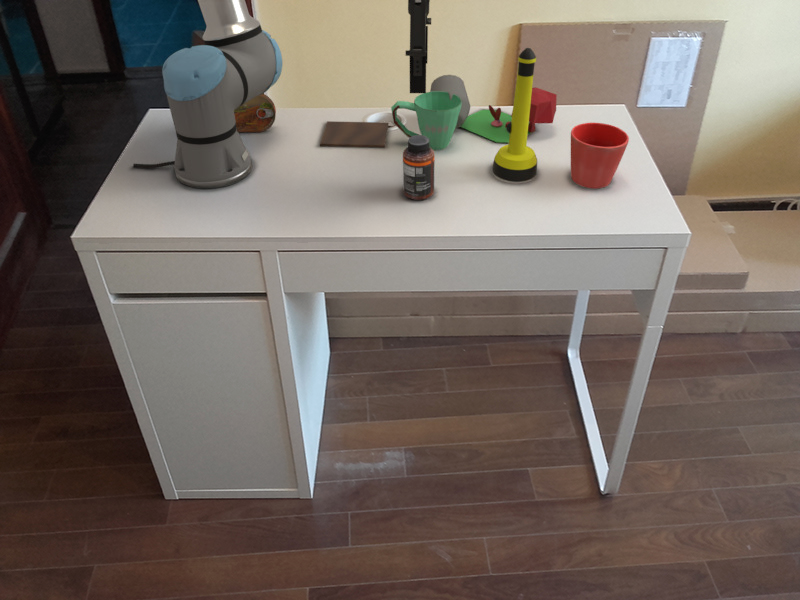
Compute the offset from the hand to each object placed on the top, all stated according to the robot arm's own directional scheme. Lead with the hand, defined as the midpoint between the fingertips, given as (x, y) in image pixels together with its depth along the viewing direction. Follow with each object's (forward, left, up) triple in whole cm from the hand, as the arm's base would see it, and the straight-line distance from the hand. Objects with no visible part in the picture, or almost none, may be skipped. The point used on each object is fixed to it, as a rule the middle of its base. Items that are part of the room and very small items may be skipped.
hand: (418, 77), depth 121 cm
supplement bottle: (0, -3, -22) cm, 22 cm away
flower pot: (+34, +4, -22) cm, 41 cm away
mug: (+1, +17, -22) cm, 28 cm away
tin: (-40, +23, -22) cm, 51 cm away
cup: (+6, +22, -19) cm, 30 cm away
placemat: (-15, +21, -22) cm, 34 cm away
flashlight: (+19, +6, -22) cm, 30 cm away
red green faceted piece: (+19, +26, -22) cm, 39 cm away
